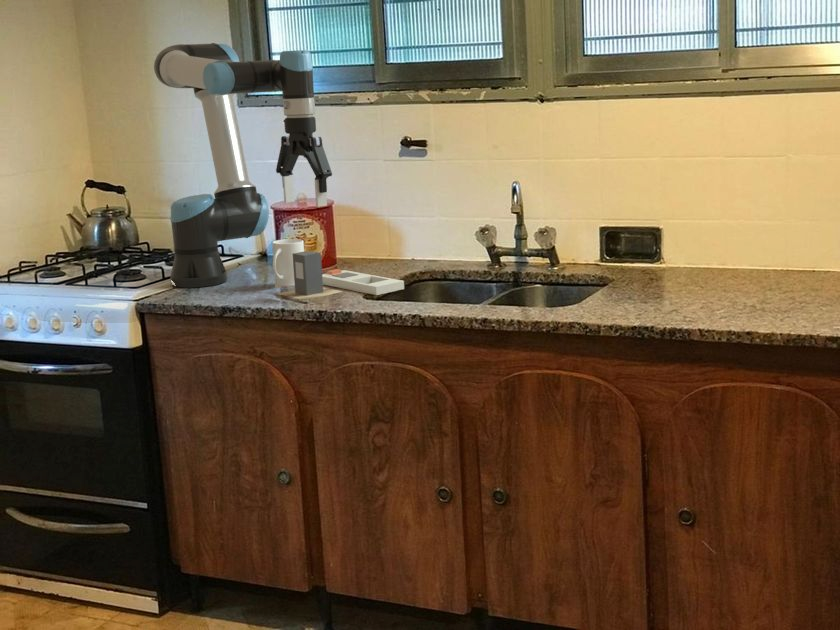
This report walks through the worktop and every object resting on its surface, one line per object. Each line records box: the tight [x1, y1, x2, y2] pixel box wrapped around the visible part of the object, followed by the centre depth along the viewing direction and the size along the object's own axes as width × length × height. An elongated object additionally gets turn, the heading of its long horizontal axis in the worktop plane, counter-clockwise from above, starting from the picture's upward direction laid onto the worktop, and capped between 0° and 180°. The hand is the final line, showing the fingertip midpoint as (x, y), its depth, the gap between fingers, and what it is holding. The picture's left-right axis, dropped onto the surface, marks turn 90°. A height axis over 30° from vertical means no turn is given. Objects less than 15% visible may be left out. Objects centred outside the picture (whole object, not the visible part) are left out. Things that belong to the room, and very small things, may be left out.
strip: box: [322, 268, 405, 296], centre depth 266 cm, size 30×9×4 cm, turn 42°
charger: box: [293, 250, 324, 296], centre depth 257 cm, size 5×5×10 cm
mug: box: [272, 238, 305, 289], centre depth 269 cm, size 12×8×12 cm
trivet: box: [275, 286, 344, 305], centre depth 258 cm, size 12×12×1 cm
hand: (305, 204), depth 254 cm, fingers open, 13 cm apart
